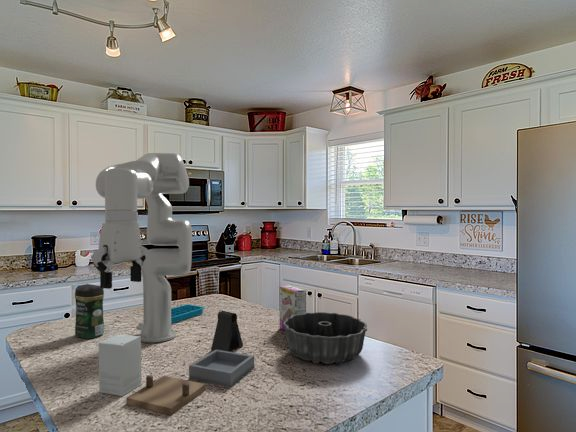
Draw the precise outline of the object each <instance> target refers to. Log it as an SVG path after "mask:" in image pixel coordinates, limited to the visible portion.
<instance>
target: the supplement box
mask: <svg viewBox="0 0 576 432" xmlns="http://www.w3.org/2000/svg"><path fill="white" fill-rule="evenodd" d="M98 385H99V387H98V389H99V391H98V392H99V393H102V394H108V395H113V396H114V395H115V396H119V397H123V396H125V395H127V394H128V393H131V391H133V390H134V389H137V388H138V387H139V386H141V385H142V341H141V337H140V336H139V335H137V336H136V335H131V334H130V335H129V334H122V333H121V334H120V333H119V334H116V335H114V336H110V337H109V338H107V339H104V340H102V341H100V342H98Z"/></svg>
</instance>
